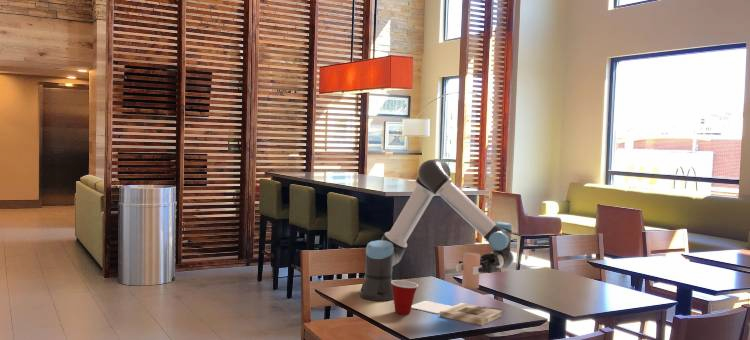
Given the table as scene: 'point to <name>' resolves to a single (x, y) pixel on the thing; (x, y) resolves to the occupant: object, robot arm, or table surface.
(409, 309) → the plastic cup
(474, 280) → the terracotta canister
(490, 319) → the socket board
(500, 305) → the table surface
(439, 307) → the off-white pad
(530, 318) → the table surface
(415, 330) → the table surface
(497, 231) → the robot arm
